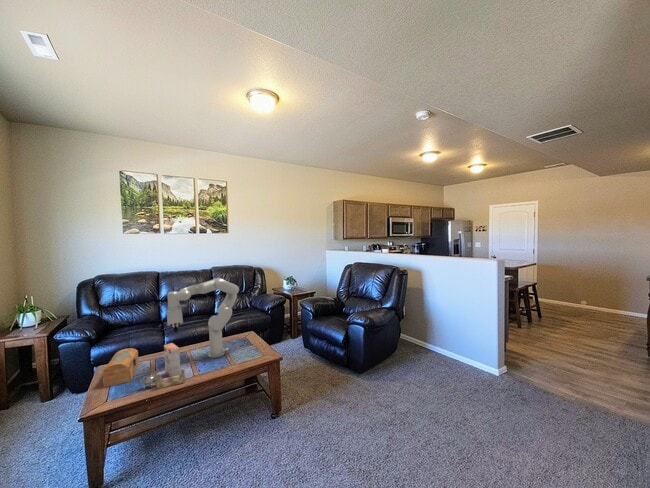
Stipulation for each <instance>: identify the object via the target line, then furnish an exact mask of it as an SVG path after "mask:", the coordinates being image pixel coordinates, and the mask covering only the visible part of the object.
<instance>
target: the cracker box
mask: <svg viewBox="0 0 650 488" xmlns="http://www.w3.org/2000/svg"><path fill="white" fill-rule="evenodd" d="M163 351H164V352H163V353H164V369H165V371H164V372H165V375H167V377H168V378H169V377H174V376H178V375H181V357H180V355H181V354H180V347H178V345H176V344H175V343H173V342H169V343H167V344H164V345H163Z"/></svg>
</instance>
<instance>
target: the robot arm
mask: <svg viewBox="0 0 650 488" xmlns="http://www.w3.org/2000/svg"><path fill="white" fill-rule="evenodd" d="M216 290H219V291H222V292H224V293H226V296H225V297H224V299H223V301H222V302H221V303H220V305H219V306H218V308H217V315H211V317H209V319H208V324H207V325H208V332H209V335H208V336H209V352H208V354H207V356H208V357H209V358H219V357H222V356H224V355H225V353H226V352H227V351H229V347H223V332H222V331H223V329H224V327H225V326H226V324H227V323H228V321H230V319H231V317H232V315H233V309H232V307H233V306H234V304H235V302H236V301H237V298H238V295H237V294H239V292H240V288H239V286H238V285H236V284H234V283H232V282H229V281H227V280H225V279H223V278H221V277H217V278H213V279H210V280H208V281H204V282H202V283H197V284H193V285H189V286H187V287H184V288H180V289H179V290H178V291H177V290H175V291H169V292H168V293H167V307H168V310H167V313H166V319H167V321H166V322H167V324H166V326H168V327H172V329H173V332H174V333H178V331H179V326H180V325H181V324H183V323H184V319H183V311H182V308H183V306H182V305H180V302H181V301H182V302H183V301H187V300H189V299H190V298H191V297H192V296H193V295H199V294H203V295H204V294H207V293H210V292H213V291H216ZM175 324H176V325H175Z"/></svg>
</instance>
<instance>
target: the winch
mask: <svg viewBox="0 0 650 488" xmlns="http://www.w3.org/2000/svg"><path fill="white" fill-rule="evenodd" d="M157 374H158V373H156V374H154V375H149V376H146V375H144V376H143V378H142V380H141V381H140V376H137V379H136V380H137V382H136V383H137V385H139V384H143V387H142V388H143V390H146V385H151V384H155V387H156V388H158V387H157Z"/></svg>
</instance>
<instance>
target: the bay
mask: <svg viewBox="0 0 650 488" xmlns="http://www.w3.org/2000/svg"><path fill="white" fill-rule="evenodd" d="M180 371H181V375H178V376H174V377H169V376H168V377H166V378H162V373H161V372H159V373H156V374H157V387H156V388H157V390H158V389H162V388H166V387H170V386H173V385H174V386H175V385H179V384H185V383H186V373H185V368H183V367H182V368H180Z"/></svg>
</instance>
